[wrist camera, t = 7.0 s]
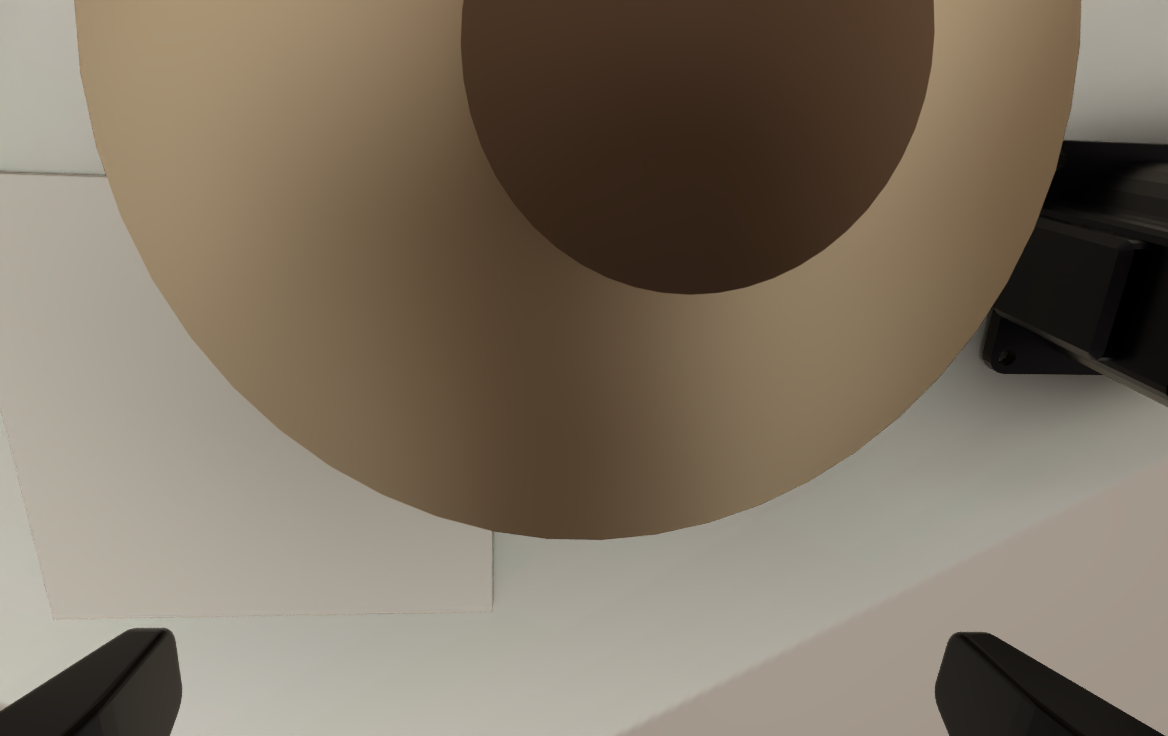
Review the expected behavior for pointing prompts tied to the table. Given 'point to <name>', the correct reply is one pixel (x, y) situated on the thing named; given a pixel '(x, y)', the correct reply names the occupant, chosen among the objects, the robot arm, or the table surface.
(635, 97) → the lid
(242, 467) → the mat
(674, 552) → the table surface
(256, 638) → the table surface
